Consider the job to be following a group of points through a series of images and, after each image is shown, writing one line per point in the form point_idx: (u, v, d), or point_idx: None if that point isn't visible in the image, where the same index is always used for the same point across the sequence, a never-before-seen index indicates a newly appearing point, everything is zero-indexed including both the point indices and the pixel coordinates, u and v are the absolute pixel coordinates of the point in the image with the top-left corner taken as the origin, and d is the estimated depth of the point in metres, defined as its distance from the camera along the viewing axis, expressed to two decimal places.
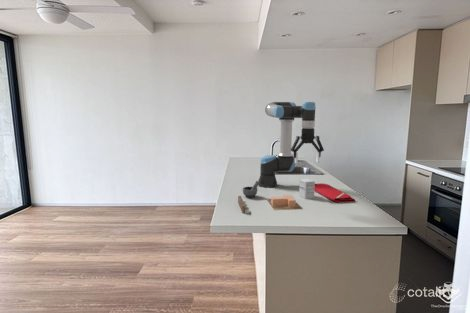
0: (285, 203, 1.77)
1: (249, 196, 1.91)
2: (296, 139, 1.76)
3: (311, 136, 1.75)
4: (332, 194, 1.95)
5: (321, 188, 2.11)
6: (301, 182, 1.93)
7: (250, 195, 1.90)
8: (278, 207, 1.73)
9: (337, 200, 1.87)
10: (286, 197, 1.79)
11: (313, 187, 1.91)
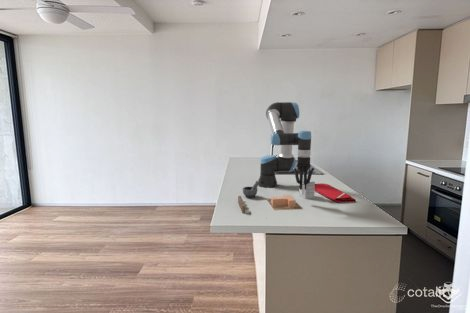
0: (285, 203, 1.77)
1: (249, 196, 1.91)
2: (294, 171, 1.77)
3: (308, 164, 1.76)
4: (333, 194, 1.95)
5: (322, 188, 2.11)
6: None
7: (250, 195, 1.90)
8: (278, 207, 1.73)
9: (338, 200, 1.87)
10: (286, 197, 1.79)
11: (313, 187, 1.91)
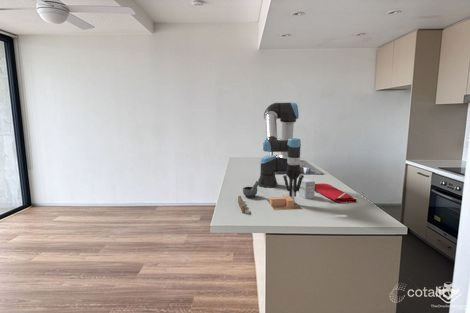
0: (284, 203, 1.77)
1: (249, 196, 1.91)
2: None
3: (298, 171, 1.76)
4: (333, 194, 1.95)
5: (322, 188, 2.11)
6: (301, 182, 1.93)
7: (250, 195, 1.90)
8: (278, 207, 1.73)
9: (338, 200, 1.87)
10: (285, 197, 1.79)
11: (313, 187, 1.91)
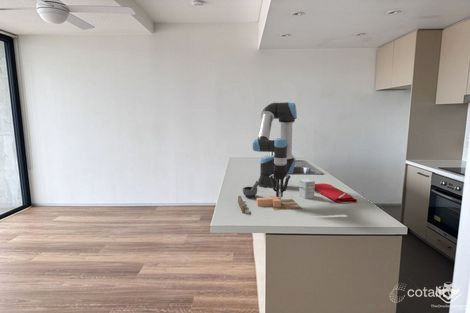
0: (270, 203, 1.76)
1: (249, 196, 1.91)
2: (271, 179, 1.76)
3: (284, 171, 1.75)
4: (334, 194, 1.94)
5: (323, 188, 2.11)
6: (301, 182, 1.93)
7: (250, 195, 1.90)
8: (278, 207, 1.73)
9: (339, 200, 1.87)
10: (271, 197, 1.78)
11: (313, 187, 1.91)
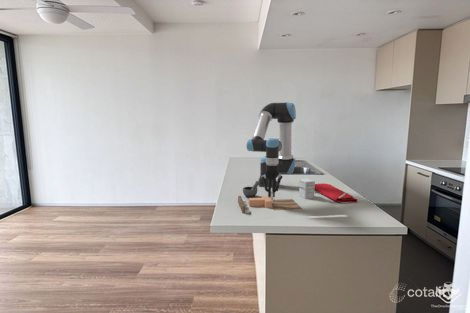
0: (262, 204, 1.75)
1: (249, 196, 1.91)
2: (263, 179, 1.76)
3: (276, 172, 1.74)
4: (334, 194, 1.94)
5: (323, 188, 2.11)
6: (301, 182, 1.93)
7: (250, 195, 1.90)
8: (278, 207, 1.73)
9: (339, 200, 1.87)
10: (263, 198, 1.78)
11: (313, 187, 1.91)
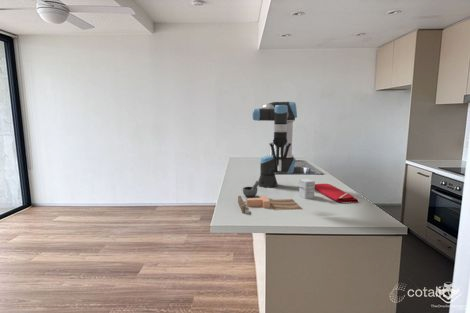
0: (260, 204, 1.75)
1: (249, 196, 1.91)
2: (271, 146, 1.73)
3: (285, 139, 1.72)
4: (335, 194, 1.94)
5: (324, 188, 2.11)
6: (301, 182, 1.93)
7: (250, 195, 1.90)
8: (278, 207, 1.73)
9: (340, 200, 1.86)
10: (261, 198, 1.78)
11: (313, 187, 1.91)
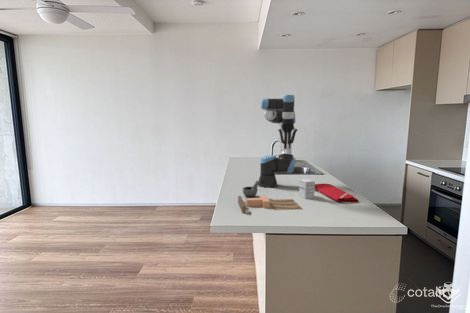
0: (260, 204, 1.75)
1: (249, 196, 1.91)
2: (279, 132, 1.95)
3: (292, 125, 1.93)
4: (335, 194, 1.94)
5: (324, 188, 2.11)
6: (301, 182, 1.93)
7: (250, 195, 1.90)
8: (278, 207, 1.73)
9: (340, 200, 1.86)
10: (261, 198, 1.78)
11: (313, 187, 1.91)
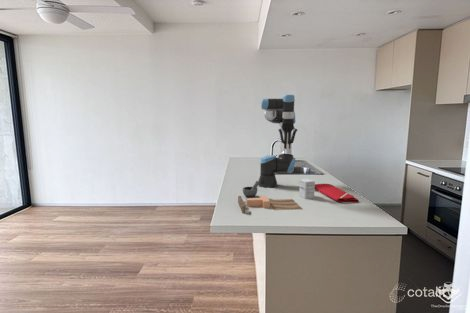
0: (260, 204, 1.75)
1: (249, 196, 1.91)
2: (279, 131, 1.95)
3: (292, 125, 1.93)
4: (335, 194, 1.94)
5: (324, 188, 2.11)
6: (301, 182, 1.93)
7: (250, 195, 1.90)
8: (278, 207, 1.73)
9: (340, 200, 1.86)
10: (261, 198, 1.78)
11: (313, 187, 1.91)
